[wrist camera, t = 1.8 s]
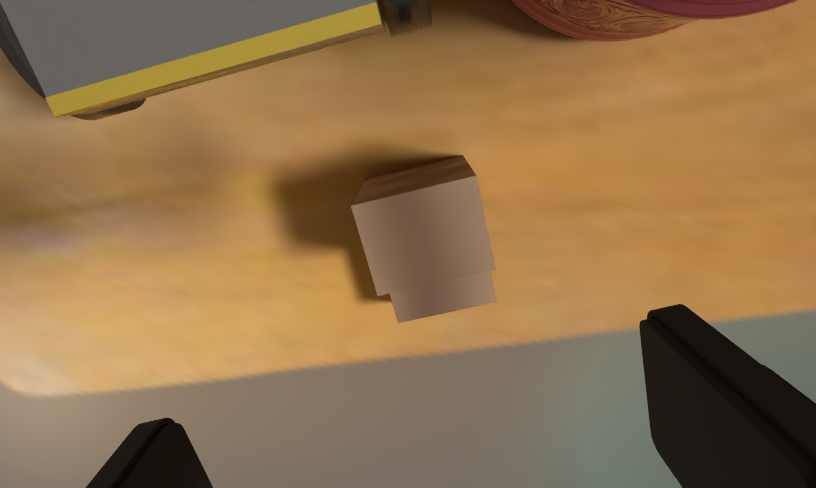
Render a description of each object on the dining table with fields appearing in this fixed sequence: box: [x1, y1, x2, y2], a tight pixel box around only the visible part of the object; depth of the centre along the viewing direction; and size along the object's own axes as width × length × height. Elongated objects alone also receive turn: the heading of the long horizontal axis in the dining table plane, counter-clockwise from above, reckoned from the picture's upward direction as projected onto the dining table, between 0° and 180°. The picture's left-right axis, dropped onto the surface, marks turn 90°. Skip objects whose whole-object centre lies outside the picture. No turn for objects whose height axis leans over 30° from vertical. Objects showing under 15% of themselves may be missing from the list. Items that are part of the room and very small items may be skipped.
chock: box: [351, 155, 497, 323], centre depth 22 cm, size 5×7×6 cm
